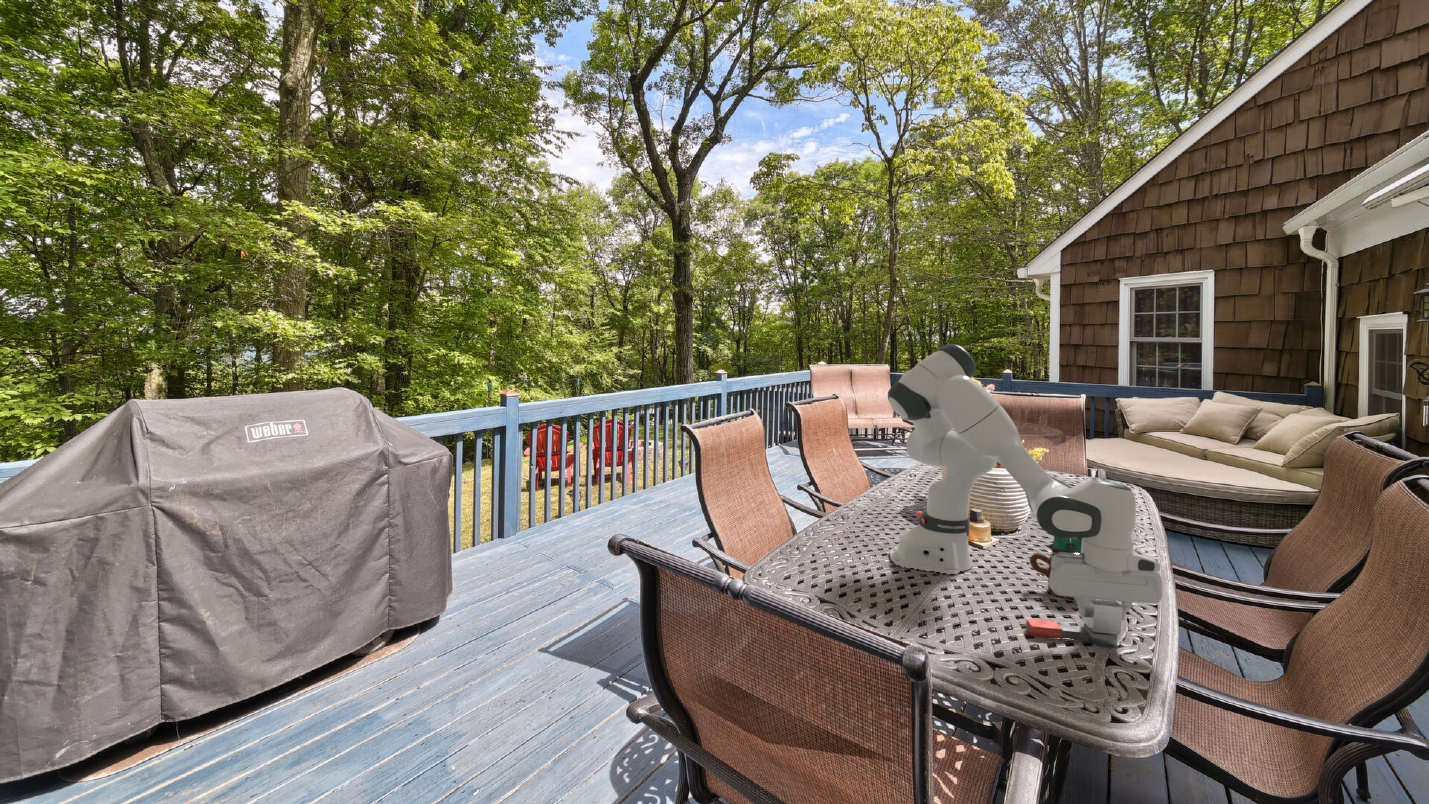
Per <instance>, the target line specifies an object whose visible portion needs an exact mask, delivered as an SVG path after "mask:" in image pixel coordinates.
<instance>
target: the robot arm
mask: <svg viewBox="0 0 1429 804" xmlns="http://www.w3.org/2000/svg"><path fill="white" fill-rule="evenodd" d="M976 371H977V369H976V363H975V360H974V359H973V356H971V354H970V352H968V351H967V350H965V348H963V347H962V346H960V345H958V344H954V343H949V344H946V345H943V346H941V347H939V348H937V349H936V351H935V352H933V353H931V354H929V355H928V356H927V357H925V358H924V359H922V360H921V361H919V362H918V363H917V364H915V366H914V367H912V369H909V370H907V371H906V372H905V373H903V374H902V376H901V377H900V379H899V380H898V381H896V382H895V383H893V385H892V386H891V387H890V388H889V389H888V391H887V400H888V402H889V404H890V406H891V408H892V410H893V411H894V412H895V414H897V415H898V416H900V417H901V418H903V419H905V420H907V421H911V423H912V424H913V427H914V430H913V431H911V432H910V433H909V435H908V436H907V439H906V443H905V445H906V452H907V455H908V456H909V458H910V459H911V460H914V461H916V462H918V463H920V464H921V463H922V464H924V465H927V466H932V467H937V468H943V469H946V473H945V474H946V475H945V477H944V478H941V479H938V480H937V481H934V482H933V483H931V484H930V486H929V487H928V490H927V500H926V501H927V502H926V512H925V511H924V513H923V511H922V510H917V511H916V512H915V516H916V518H917V519H918V522H919V524H917V525H916V526H914V527H912V528H910V529H909V530H906V531H905V532H904V533H902V534H901V536H900V538H899V540H898V544H897V546H894V547H892V548H891V549H890V552H889V558H890V560H891V562H892V561H893V562H894V563H895V564H894V563H893V562H892V563H893V564H894V565H896V566H897V565H899V566H901V567H900V568H904V567H905V568H904V569H910V568H914V569H913V570H917V569H919V571H923V570H925V572H930V571H935V572H934V573H936V572H940V573H939V574H943V573H946V574H945V575H950V574H955V575H957V574H959V573H961V572H966V571H968V570H971V568H972V567H973V564H972V560H971V556H970V549H969V547H970V546H969V536H970V535H969V534H970V532H971V531H970V530H971V529H970V528H971V523H970V522H971V521H970V517H969V508H970V507H969V506H970V498H971V493H972V490H973V487H974V486H975V484H976V482H977V481H978V480H979V479H980V478H981V477H982V476H984V475H985V474H987V473H988V472H990V471H992V470H993V469H994V468H995V466H996V465H997V464H999V465H1001V466H1002V467H1003V468H1004V470H1005V471H1007V473H1009V475H1010V476H1011V477H1012V478H1013V479H1014V481H1016V482H1017V484H1018V485H1019V486H1020V487H1021V489H1022V490H1023V491H1024V493H1025V495H1026V500H1027V504H1028V507H1029V509H1030V510H1031V512H1032V513H1033V515H1034V517H1035V519H1036V521H1037V523H1038V524H1039V527H1040V528H1041V529H1042V530H1043V531H1044V532H1046V533H1047V534H1049V535H1051V536H1052V537H1054V536H1055V537H1058V538H1070V539H1071V538H1082V546H1081V553H1066V552H1059V554H1056V555H1054V556H1053V557H1052V558H1051V568H1052V569H1051V573H1050V578H1049V587H1050V588H1051V589H1052V591H1053V592H1054V593H1055V594H1057V595H1059V596H1070V597H1074V599H1073V600H1074V601H1075V602H1076V604H1077V606H1078V615H1079V616H1080V617H1081V618H1082V617H1089V616H1090V615H1089V614H1090V610H1089V609H1088V608H1087V607H1086V606H1084V605H1083V602H1085V598H1092V599H1104V600H1115V601H1116V602H1120V605H1121V606H1122V607H1123V609H1122V621H1125V620H1126V619H1125V618H1126V614H1127V613H1128V612H1129V611H1130V609H1132V608H1133V603H1141V604H1149V605H1151V604H1152V605H1157V604H1159V602H1161V601H1162V598H1163V580H1162V579H1163V578H1162V576H1161V575H1160V574H1159V572H1160V570H1161V564H1160V562H1158V561H1157V560H1156V559H1155V558H1153V557H1152V556H1150V555H1149V554H1147V553H1145V552H1143V551H1141V550H1139V549H1135V548H1134V541H1133V532H1134V530H1135V528H1136V520H1137V519H1136V517H1137V502H1136V501H1137V500H1136V496H1135V493H1134V492H1133V490H1132V489H1131V488H1130V487H1128V486H1127V485H1125V484H1123V483H1122V482H1120V481H1119V482H1118V481H1116V480H1113V479H1108V478H1105V477H1104V478H1103V477H1092V478H1090V479H1089V480H1088V481H1086V482H1083V483H1082V484H1079V485H1076V486H1073V487H1072V486H1070V485H1069V484H1067V483H1066V482H1064V481H1061V480H1060V479H1057V478H1055V477H1053V476H1051V475H1050V474H1049V473H1048V472H1047V471H1046V470H1045V469H1044V468H1043V467H1042V466H1041V465H1040V464H1039V463H1038V462H1037V461H1036V460H1035V458H1034V457H1033V456H1032V455H1031V454H1030V453H1029V452H1028V450H1027V449H1026V447H1024V445H1023V443H1022V441H1021V438H1020V434H1019V430H1018V429H1017V426H1016V425H1015V423H1014V421H1013V419H1012V418H1011V416H1010V415H1009V414H1008V412H1007V411H1006V410H1005V408H1004V407H1003V406H1002V405H1001V404H1000V403H999V401H998V400H997V399H996V398H995V397H993V395H991V393H989V391H987V390H986V389H985V388H984V387H983V386H981V384H979V383H978V382H977V381H976V380H974V379H973V377H974V375H975V373H976ZM1059 556H1060V557H1059ZM899 566H898V567H899ZM960 571H961V572H960ZM1059 596H1058V597H1059Z"/></svg>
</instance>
